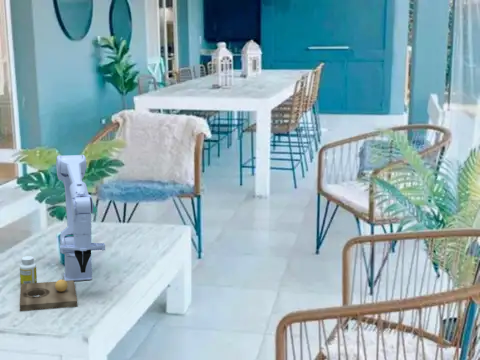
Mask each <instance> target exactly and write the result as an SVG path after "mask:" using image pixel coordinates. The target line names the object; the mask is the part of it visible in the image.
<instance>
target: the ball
mask: <svg viewBox="0 0 480 360" xmlns="http://www.w3.org/2000/svg"><path fill="white" fill-rule="evenodd" d="M55 282H56V284H55V288H56V290H58V291H60V292H63V291H65V290H66V289H67V287H68V284H67V282H66V281H65V280H64V279H59V280H56V281H55Z"/></svg>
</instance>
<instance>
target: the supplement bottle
mask: <svg viewBox="0 0 480 360" xmlns="http://www.w3.org/2000/svg"><path fill="white" fill-rule="evenodd" d="M34 260H35V259H34V256H31V255H25V256H22V257H21V263H20V265H19V280H20V281H19V282H20V285H21V284H28V283H38V282H37V281H38V279H37V264H36V263H35V261H34Z"/></svg>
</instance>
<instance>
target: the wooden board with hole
mask: <svg viewBox="0 0 480 360" xmlns="http://www.w3.org/2000/svg"><path fill="white" fill-rule="evenodd" d="M56 282H57V281H46V282H45V281H44V282H37V283H28V284H21V283H20V290H19V291H20V292H19V312H25V311H40V310H41V311H42V310H51V309H52V310H53V309H62V308H63V309H64V308H65V309H66V308H76V307H77V308H78V298H77V291H76V285H75V281H74V280H71V281H66V282H67V284H68V287H67V289H66V290H65V291H63V292H60V291H58V290H56V288H55V284H56Z"/></svg>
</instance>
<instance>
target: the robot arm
mask: <svg viewBox="0 0 480 360" xmlns="http://www.w3.org/2000/svg"><path fill="white" fill-rule="evenodd" d="M55 164H56V166H55V167H56V176H57V179H58V180H59V181H62V184H63V186H64V197H65V208H66V209H65V210H66V212H65V213H66V224H67V227H65V228H63V230H61V232H60V235H59V253H60V254H63V255H64V272H63V280H65V281H71V280H74V282H78V281H90V280H92V279H93V276H92V275H93V264H92V263H93V262H92V260H93V259H92V252H93V251H106V243H104V242H102V243H101V242H92V214H93V213H94V200H93V197H92V195H91V194H89V190H88V187H87V183H85V181H83V179H84V178H85V175H86V174H85V173H86V170H87V157H86V155H84V154H73V155H71V154H70V155H67V154H66V155H57V156H56V161H55Z"/></svg>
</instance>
